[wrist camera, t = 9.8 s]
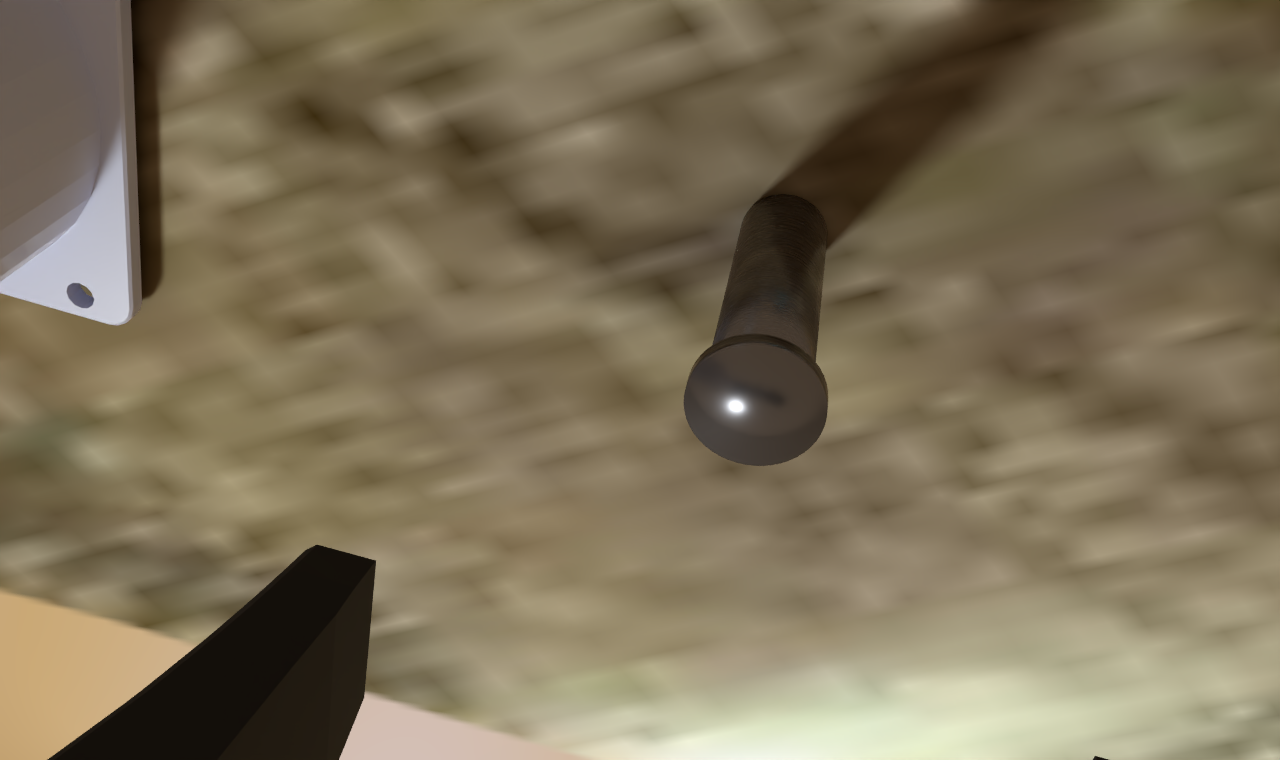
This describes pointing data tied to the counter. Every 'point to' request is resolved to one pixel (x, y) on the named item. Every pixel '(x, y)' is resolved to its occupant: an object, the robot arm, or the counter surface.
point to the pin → (766, 342)
